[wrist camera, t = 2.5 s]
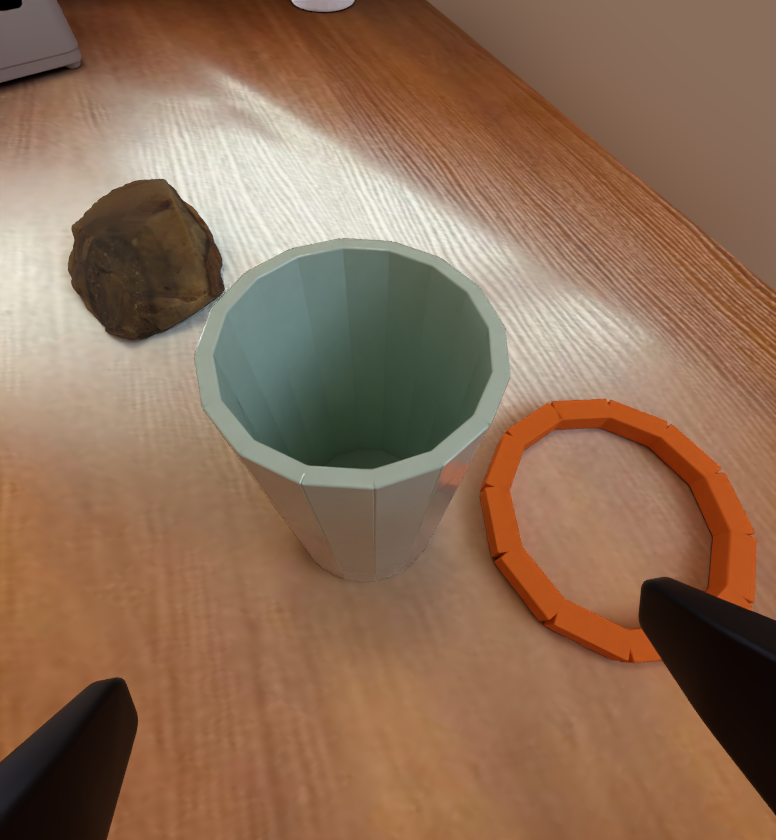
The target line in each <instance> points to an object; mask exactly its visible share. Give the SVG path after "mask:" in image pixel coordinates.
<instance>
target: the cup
mask: <svg viewBox="0 0 776 840" xmlns="http://www.w3.org/2000/svg"><path fill="white" fill-rule="evenodd" d="M194 361H195V367H196V374H197V380H198V387H199V393H200V399H201V406H202V408H203V410H204V412H205V413H206V415H207V416H208V417H209V419H210V420H211V421H212V423H213V424H214V425H215V427H216V428H217V430H218V431H219V432H220V434H221V435H222V436H223V438H224V439H225V440H226V442H227V443H228V445H229V446H230V447H231V449H232V450H233V451H234V453H235V454H236V455H237V457H238V458H239V460H240V461H241V462H242V464H243V465H244V466H245V468H246V469H247V470H248V472H249V473H250V475H251V476H252V477H253V479H254V480H255V481H256V483H257V484H258V485H259V487H260V488H261V490H262V491H263V492H264V494H265V495H266V496H267V498H268V499H269V500H270V502H271V503H272V505H273V506H274V507H275V509H276V510H277V511H278V513H279V514H280V515H281V517H282V518H283V519H284V521H285V522H286V524H287V525H288V526H289V528H290V529H291V530H292V532H293V533H294V534H295V536H296V537H297V539H298V540H299V541H300V543H301V544H302V545H303V547H304V548H305V549H306V550H307V552H308V553H309V554H310V556H311V557H312V558H313V559H314V561H315V562H316V563H317V565H319V566H320V567H322V568H323V569H325V570H326V571H328V572H329V573H331V574H333V575H335V576H337V577H340V578H342V579H346V580H349V581H355V582H374V581H380V580H383V579H387V578H390V577H392V576H394V575H396V574H398V573H400V572H402V571H403V570H405V569H406V568H407V567H409V566H410V565H411V564H412V563H413V562H414V561H415V560H416V559H417V558H418V557H419V556H420V554H421V553H422V552H424V550H425V549H426V547H427V545H428V543H429V541H430V539H431V537H432V535H433V533H434V532H435V530H436V528H437V526H438V524H439V522H440V520H441V518H442V516H443V515H444V513H445V511H446V509H447V507H448V505H449V503H450V501H451V499H452V497H453V496H454V494H455V492H456V490H457V488H458V486H459V484H460V482H461V480H462V479H463V477H464V475H465V473H466V471H467V469H468V467H469V465H470V463H471V462H472V460H473V458H474V456H475V454H476V452H477V450H478V448H479V446H480V445H481V443H482V441H483V439H484V437H485V435H486V433H487V431H488V429H489V427H490V426H491V424H492V421H493V419H494V416H495V414H496V411H497V409H498V406H499V404H500V401H501V399H502V396H503V394H504V392H505V389H506V387H507V384H508V382H509V379H510V366H509V357H508V347H507V338H506V329H505V327H504V324H503V323H502V321H501V319H500V318H499V316H498V315H497V313H496V311H495V310H494V308H493V307H492V305H491V304H490V302H489V300H488V299H487V297H486V296H485V294H484V292H483V291H482V289H481V288H480V287H479V286H478V285H477V284H476V283H474V282H473V281H472V280H470V279H469V278H467V277H466V276H465V275H463V274H462V273H461V272H459V271H458V270H457V269H455V268H454V267H453V266H451V265H450V264H449V263H447V262H446V261H445V260H443V259H442V258H440V257H437V256H434V255H432V254H429V253H426V252H423V251H420V250H417V249H414V248H411V247H408V246H405V245H402V244H400V243H397V242H392V241H381V240H364V239H348V238H342V239H340V238H339V239H335V240H330V241H325V242H320V243H315V244H310V245H305V246H300V247H295V248H292V249H289V250H287V251H285V252H283V253H281V254H279V255H277V256H275V257H273V258H271V259H270V260H268V261H266V262H264V263H262V264H260V265H258V266H256V267H254V268H252V269H250V270H249V271H247V272H246V273H244V274H243V275H242V276H241V277H240V278H239V279H238V280H237V281H236V283H235V284H234V285H233V286H232V287H231V288H230V289H229V290H228V291H227V292H226V293H225V294H224V295H223V296H222V297H221V298H220V299H219V301H218V302H217V303H216V304H215V305H214V306H213V307H212V309H211V310H210V312H209V315H208V318H207V320H206V323H205V326H204V329H203V332H202V335H201V337H200V340H199V343H198V346H197V349H196V351H195V356H194Z"/></svg>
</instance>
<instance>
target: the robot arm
mask: <svg viewBox="0 0 776 840" xmlns="http://www.w3.org/2000/svg"><path fill="white" fill-rule="evenodd" d="M639 622H640V625H641V628H642V630H643V632H644V633H645V635H646V636H647V638H648V639H649V641H650V642H651V644H652V645H653V647H654V648H655V650H656V652H657V653H658V655H659V656H660V658H661V659H662V661H663V662H664V664H665V665H666V667H667V668H668V670H669V671H670V673H671V674H672V676H673V677H674V679H675V680H676V682H677V683H678V685H679V686H680V688H681V689H682V691H683V692H684V694H685V696H686V697H687V699H688V700H689V702H690V703H691V705H692V706H693V707H694V709H695V710H696V712H697V713H698V715H699V716H700V718H701V719H702V720H703V722H704V723H705V724H706V726H707V727H708V728H709V730H710V731H711V732H712V734H713V735H714V736H715V738H716V739H717V740H718V742H719V743H720V744H721V745H722V747H723V748H724V749H725V751H726V752H727V753H728V755H729V756H730V757H731V758H732V760H733V761H734V762H735V764H736V765H737V766H738V767H739V769H740V770H741V771H742V773H743V774H744V775H745V776H746V778H747V779H748V780H749V782H750V783H751V784H752V785H753V787H754V788H755V789H756V791H757V792H758V793H759V794H760V796H761V797H762V798H763V800H764V801H765V802H766V803H767V805H768V806H769V807H770V809H771V810H772V811H773V812H774V814H775V815H776V621H775V620H773V619H770V618H768V617H766V616H763V615H761V614H758V613H756V612H753V611H751V610H748V609H746V608H743V607H741V606H738V605H736V604H733V603H731V602H728V601H726V600H723V599H721V598H719V597H716V596H714V595H711V594H709V593H706V592H704V591H701V590H699V589H696V588H694V587H691V586H689V585H686V584H684V583H681V582H679V581H677V580H674V579H672V578H669V577H660V578H654V579H649V580H646V581H644V583H643V584H642V587H641V595H640V605H639ZM137 726H138V716H137V711H136V709H135V706H134V703H133V701H132V698H131V695H130V692H129V690H128V687H127V684H126V682H125V680H123V679H122V678H118V677H117V678H111V679H106V680H100V681H96V682H93V683H92V684H90V685H89V686H88V687H86V688H85V689H84V690H83V691H82V692H80V693H79V694H78V695H77V696H76V697H75V698H74V699H72V700H71V701H70V702H69V703H68V704H67V705H66V706H64V707H63V708H62V709H61V710H60V711H59V712H57V713H56V714H55V715H54V716H53V717H52V718H51V719H49V720H48V721H47V722H46V723H45V724H44V725H43V726H41V727H40V728H39V729H38V730H37V731H36V732H34V733H33V734H32V735H31V736H30V737H29V738H28V739H26V740H25V741H24V742H23V743H22V744H21V745H19V746H18V747H17V748H16V749H15V750H14V751H13V752H11V753H10V754H9V755H8V756H7V757H6V758H5V759H3V760H2V761H1V762H0V840H107V836H108V833H109V829H110V826H111V822H112V819H113V815H114V811H115V808H116V804H117V801H118V797H119V793H120V790H121V786H122V783H123V779H124V775H125V772H126V768H127V765H128V761H129V757H130V754H131V750H132V746H133V743H134V739H135V736H136V732H137Z"/></svg>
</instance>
